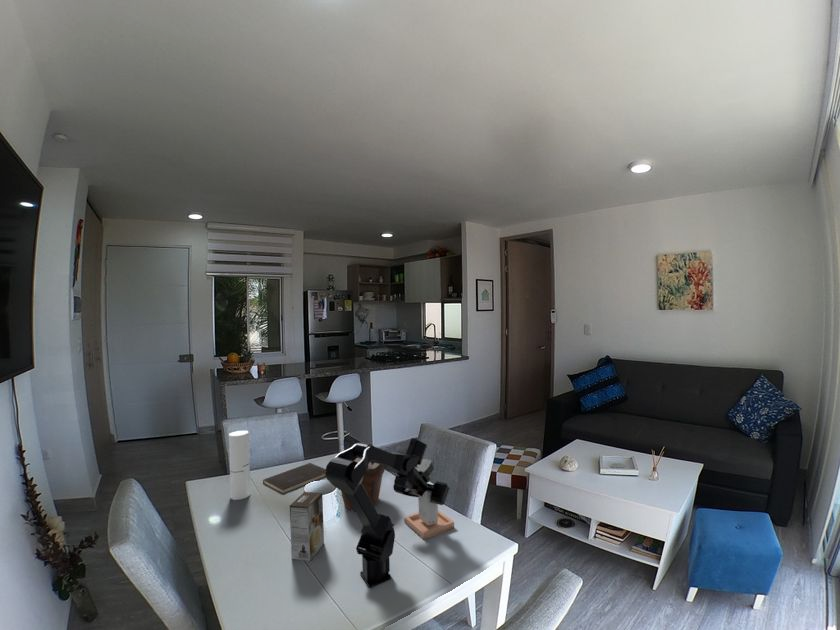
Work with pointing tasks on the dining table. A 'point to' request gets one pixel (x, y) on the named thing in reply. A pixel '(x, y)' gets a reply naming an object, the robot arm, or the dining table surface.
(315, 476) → the hardcover book
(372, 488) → the brown flower pot
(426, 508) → the skincare box
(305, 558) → the coffee box
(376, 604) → the dining table surface
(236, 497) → the cylindrical container
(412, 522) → the terracotta dish
